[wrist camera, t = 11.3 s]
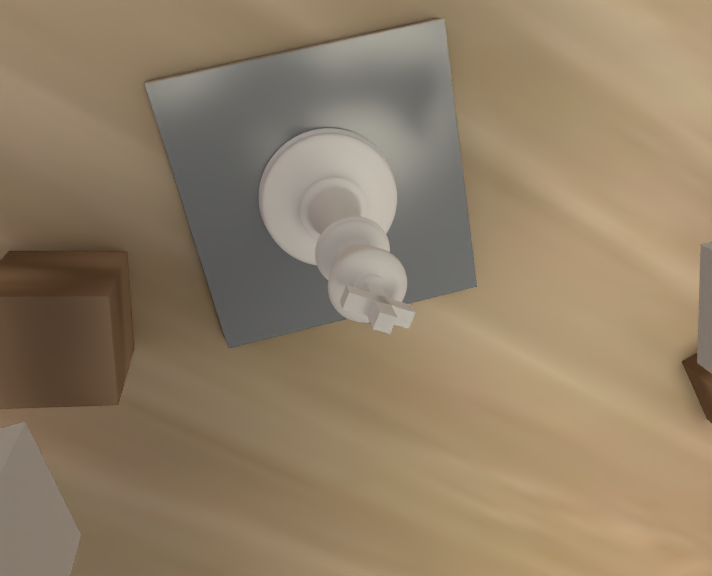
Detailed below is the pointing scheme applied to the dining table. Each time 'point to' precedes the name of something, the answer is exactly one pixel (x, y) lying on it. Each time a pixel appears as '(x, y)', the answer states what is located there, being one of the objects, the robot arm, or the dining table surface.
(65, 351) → the walnut cube
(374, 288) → the chess piece
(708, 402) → the walnut cube
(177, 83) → the coaster
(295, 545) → the dining table surface
